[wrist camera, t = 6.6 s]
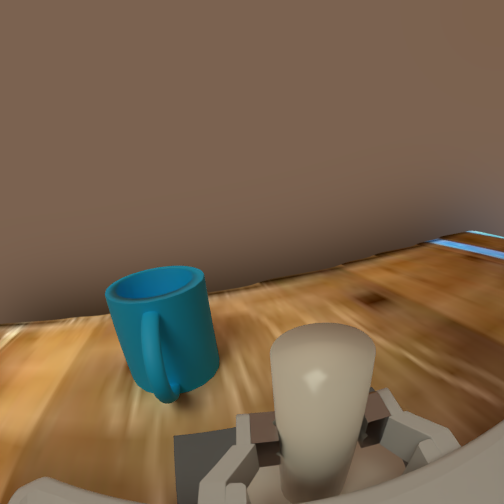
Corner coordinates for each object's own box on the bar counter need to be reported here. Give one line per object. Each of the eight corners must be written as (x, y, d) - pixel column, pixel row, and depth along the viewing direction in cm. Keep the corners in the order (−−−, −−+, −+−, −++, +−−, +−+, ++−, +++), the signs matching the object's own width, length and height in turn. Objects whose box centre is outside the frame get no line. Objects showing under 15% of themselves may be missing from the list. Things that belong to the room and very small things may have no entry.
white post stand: (354, 404, 16) (368, 271, 14) (436, 508, 7) (535, 367, 4) (205, 443, 14) (164, 309, 12) (235, 585, 5) (149, 545, 2)
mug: (138, 347, 27) (117, 273, 24) (214, 336, 28) (201, 260, 26) (121, 433, 15) (74, 337, 13) (234, 421, 17) (213, 319, 15)
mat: (370, 390, 18) (371, 386, 17) (468, 500, 6) (472, 497, 6) (175, 439, 15) (173, 435, 15) (195, 603, 4) (192, 603, 3)
